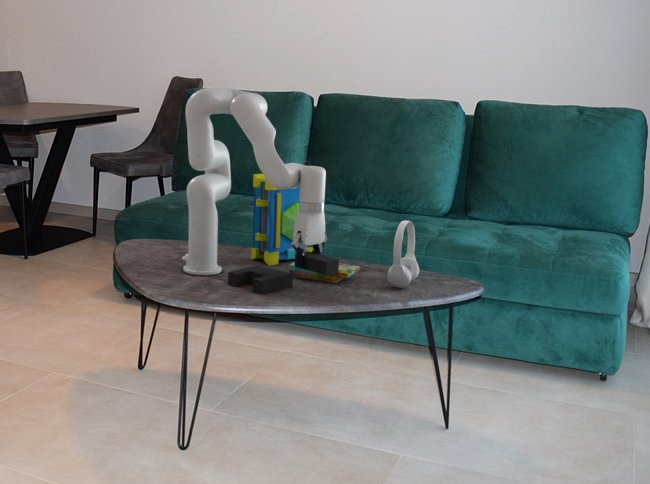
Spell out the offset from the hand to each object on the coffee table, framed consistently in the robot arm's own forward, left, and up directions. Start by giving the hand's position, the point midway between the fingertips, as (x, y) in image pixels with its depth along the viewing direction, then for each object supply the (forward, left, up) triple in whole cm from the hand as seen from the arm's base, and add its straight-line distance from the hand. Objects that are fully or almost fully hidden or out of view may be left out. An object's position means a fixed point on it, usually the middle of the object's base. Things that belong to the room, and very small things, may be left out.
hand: (308, 265), depth 248 cm
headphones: (+16, +27, -7) cm, 32 cm away
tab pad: (+3, 0, -1) cm, 3 cm away
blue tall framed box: (-30, +22, -7) cm, 38 cm away
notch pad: (-11, -9, -7) cm, 16 cm away
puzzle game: (-5, +14, -7) cm, 17 cm away
